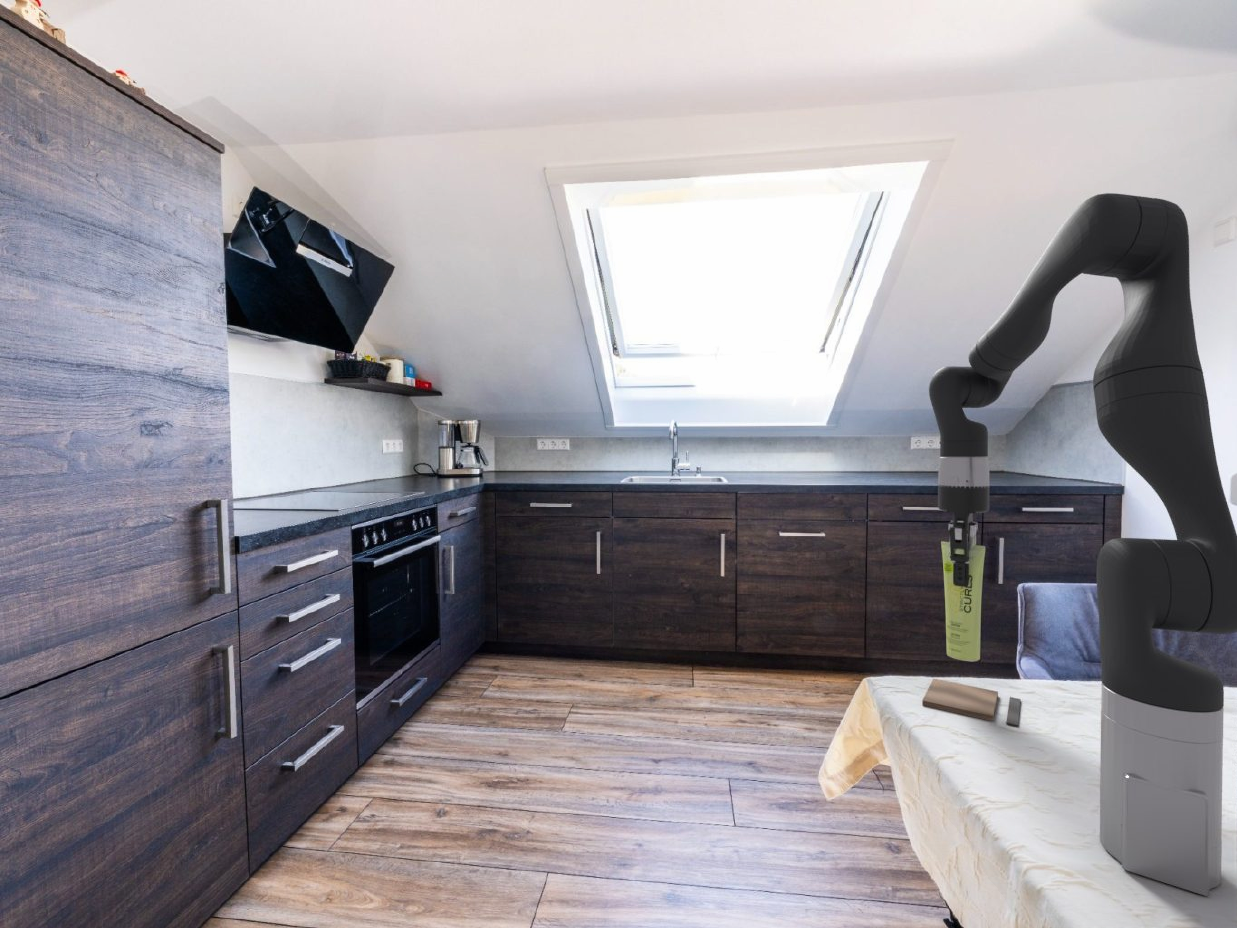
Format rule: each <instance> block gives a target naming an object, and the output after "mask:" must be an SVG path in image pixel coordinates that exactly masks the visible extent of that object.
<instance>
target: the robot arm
mask: <svg viewBox="0 0 1237 928" xmlns="http://www.w3.org/2000/svg"><path fill="white" fill-rule="evenodd" d="M1186 217H1187V216H1186V214H1185V213H1184V210H1183V209H1182V208H1181V207H1180V205H1179V204H1176V203H1174V202H1172V201H1170V200H1167V199H1164V198H1159V197H1158V198H1157V197H1147V196H1139V195H1132V194H1124V193H1123V194H1122V193H1111V192H1110V193H1109V192H1107V193H1099V194H1096V195H1093V196H1092V197H1091V196H1090V197H1089V198H1087V199H1086V200H1085V201H1083V202H1081V204H1080V205H1078V206H1077V207H1076V209H1074V210H1073V211H1072V213H1070V215H1069V216H1068V217H1067V219H1066V220H1064V222H1063V223H1062V225H1061V226H1060V228H1059V229H1058V230H1057V232H1056V233H1055V234H1054V236H1053V237H1052V239H1051V241H1050V242H1049V244H1048V245H1047V247H1046V249H1045V250H1044V251H1043V253H1042V254H1041V256H1040V257H1039V259H1038V260H1037V262H1036V263H1035V265H1034V266H1033V268H1032V269H1031V271H1030V273H1029V274H1028V276H1027V277H1026V279H1025V280H1024V281H1023V284H1022V285H1021V287H1020V288H1019V290H1018V291H1017V293H1016V294H1015V296H1014V298H1013V299H1012V301H1011V302H1010V303H1009V305H1008V306H1007V308H1006V309H1004V312H1002V314H1001V315H1000V316H999V318H998V319H996V321H995V322H994V323H993V324H992V325H991V326H989V328H988V329H987V330H986V332H985V333H983V335H982V336H981V337H980V338H979V339H978V340H977V341H976V342H975V343H974V344H973V346H972V347H971V349H970V350H969V353H968V362H969V365H970V366H957V365H955V366H952V365H951V366H949V365H948V366H944V367H941V368H939V369H938V370H936V371H935V373H934V374H933V376H932V377H931V379H930V381H929V385H928V386H929V387H928V394H929V400H930V404H931V406H932V411H933V413H934V417H935V419H936V425H937V427H938V432H939V436H940V437H939V438H940V439H939V442H940V443H939V455H940V457H939V465H938V471H937V472H938V473H937V474H938V475H937V476H938V477H937V482H938V484H937V487H938V488H937V507H938V509H939V510H940V511H942V512H948V513H949V512H950V513H952V514H953V516H952V517H953V518H952V520H950V521H949V522H948V532H949V541H948V542H949V547H950V552H951V555H950V558H951V561H952V563H953V584H954V585H955V586H963V587H967V586H968V585H969V562H970V551H972V550H973V548H974V545H977V532H978V522H977V521H973V514H974V513H975V514H981V513H982V514H983V513H988V512H989V511H990V466H989V432H988V431H989V430H988V428H987V426H986V425H985V424H984V423H982V422H978V421H974V420H971V419H969V418H967V416H966V414H965V411H964V409H980V408H981V409H982V408H984V407H988V406H989V405H991V404H993V403H995V402H996V401H997V400H998V399H999V398H1000V396H1001V395H1002V394H1003V391H1004V390H1005V388H1006V386H1007V384H1008V382H1009V381H1010V379H1011V377H1012V375H1013V373H1014V371H1015V370H1016V369H1018V368H1019V367H1020V366H1021V365H1022V364H1023V363H1024V362H1025V361H1026V360H1027V359H1029V358H1030V356H1032V355H1033V354H1034V353H1036V351H1038V349H1039V348H1040V346H1041V345H1042V344H1043V343H1044V341H1045V340H1046V338H1047V336H1048V334H1049V331H1050V327H1051V323H1052V322H1051V321H1052V315H1053V309H1054V308H1053V307H1054V303H1055V300H1056V297H1057V296H1058V294H1060V292H1061V291H1062V290H1063V289H1064V288H1065V287H1066V286H1067V285H1068V284H1069V283H1071V282H1072V281H1073V280H1074V279H1075V278H1078V276H1080V275H1081V274H1084V275H1090V276H1098V277H1099V276H1100V277H1107V278H1116V279H1117V280H1118V282H1119V283H1120V285H1121V290H1122V292H1123V293H1122V294H1123V302H1124V317H1123V319H1122V320H1123V321H1122V323H1121V325H1120V327H1119V329H1118V330H1117V332H1116V333H1115V335H1113V337H1112V339H1111V340H1110V342H1109V344H1108V345H1107V346H1106V348H1105V349H1104V351H1103V353H1102V355H1101V356H1100V357H1099V360H1098V362H1097V363H1096V366H1095V368H1094V372H1093V378H1092V380H1093V381H1092V384H1093V385H1092V386H1093V394H1094V405H1095V412H1096V413H1095V414H1096V420H1097V426H1098V429H1099V431H1100V433H1101V434H1102V436H1103V437H1104V438H1105V440H1106V442H1107V443H1108V444H1109V445H1110V447H1112V448H1113V450H1114V451H1115V452H1116V453H1117V455H1119V456H1120V457H1121V458H1122V459H1123V460H1124V461H1125V462H1126V463H1127V465H1129V466H1130V467H1131V468H1132V469H1134V471H1135V472H1136V473H1138V475H1139V476H1140V477H1141V478H1143V479H1144V481H1145V482H1146V483H1147V484H1148V485H1149V486H1150V487H1151V488H1152V489H1153V490H1154V492H1155V494H1156V495H1157V496H1158V497H1159V499H1160V501H1161V502H1162V503H1163V505H1164V507H1165V509H1166V511H1167V514H1168V516H1169V518H1170V521H1171V524H1172V526H1173V530H1174V532H1175V537H1176V539H1165V538H1164V539H1163V538H1140V537H1139V538H1134V537H1118V538H1111V539H1110V540H1107V541H1106V542H1104V544H1103V546H1102V547H1101V549H1100V551H1099V553H1098V557H1097V561H1096V594H1097V607H1098V625H1099V628H1098V629H1099V630H1098V631H1099V633H1098V634H1099V636H1098V637H1099V638H1098V639H1099V641H1098V642H1099V643H1098V644H1099V656H1100V666H1101V667H1100V668H1101V695H1100V697H1101V699H1100V700H1101V701H1100V703H1101V705H1100V706H1101V708H1100V709H1101V711H1100V768H1099V773H1100V775H1099V776H1100V778H1099V779H1100V781H1099V782H1100V783H1099V840H1100V843H1101V845H1102V846H1103V848H1104V849H1105V851H1107V853H1108V854H1110V855H1111V856H1112V857H1113V858H1115V860H1117V861H1118V862H1120V864H1121V868H1122V869H1123V870H1124V871H1127V872H1131V873H1133V874H1137V875H1140V876H1143V877H1146V878H1148V879H1153V880H1156V881H1158V882H1162V883H1165V884H1167V885H1171V886H1175V887H1177V888H1180V889H1183V890H1187V891H1190V892H1192V893H1197V894H1199V895H1202V896H1206V897H1208V896H1209V895H1210V890H1211V889H1215V888H1218V887H1219V885H1220V884H1221V882H1222V844H1223V843H1222V834H1223V833H1222V832H1223V831H1222V830H1223V829H1222V827H1223V823H1222V821H1223V760H1224V759H1223V755H1224V754H1223V752H1224V751H1223V749H1224V706H1225V705H1224V704H1225V703H1224V701H1225V696H1224V694H1225V693H1224V692H1225V691H1224V684H1223V681H1222V680H1221V679H1220V678H1219V676H1217V674H1215V673H1213V672H1212V671H1210V670H1209V669H1207V668H1205V667H1202V666H1201V665H1198V664H1196V663H1192V662H1190V661H1188V660H1185V659H1182V658H1179V657H1176V656H1174V655H1171V654H1169V653H1167V652H1165V651H1163V650H1161V649H1159V648H1158V647H1157V646H1155V645H1154V640H1153V636H1152V629H1156V630H1165V631H1166V630H1168V631H1178V632H1189V633H1190V632H1191V633H1202V634H1212V635H1213V634H1214V635H1231V634H1234V633H1237V530H1236V527H1235V525H1234V521H1233V518H1232V515H1231V510H1230V508H1229V505H1228V504H1229V503H1228V502H1227V497H1226V495H1225V491H1224V487H1223V483H1222V479H1221V475H1220V470H1219V466H1218V462H1217V461H1218V460H1217V455H1216V449H1215V445H1214V443H1215V442H1214V437H1213V430H1212V424H1211V414H1210V407H1209V406H1210V405H1209V399H1208V394H1207V387H1206V382H1205V377H1204V372H1203V369H1202V368H1203V367H1202V364H1201V360H1200V356H1199V355H1200V354H1199V351H1198V346H1197V344H1198V343H1197V338H1196V330H1195V323H1194V314H1193V309H1192V300H1191V289H1190V288H1191V284H1190V283H1191V282H1190V281H1191V280H1190V279H1191V278H1190V237H1189V235H1190V234H1189V225H1188V220H1187V218H1186ZM957 550H964V554H956V551H957Z"/></svg>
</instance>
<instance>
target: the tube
mask: <svg viewBox="0 0 1237 928" xmlns="http://www.w3.org/2000/svg"><path fill="white" fill-rule="evenodd" d="M940 545H941V552H942V553H941V554H942V555H941V556H942V564H943V565H942V566H943V583H944V586H943V587H944V602H945V604H944V606H945V633H946V634H945V635H946V636H945V638H946V643H945V644H946V656H948V657H950V658H952V659H954V660H958V661H964V662H971V663H972V662H977V661H980V660H981V628H982V627H981V626H982V625H981V624H982V623H981V622H982V620H981V619H982V595H983V594H982V592H983V578H984V577H983V575H984V564H985V556H986V555H985V554H986V546H985V545H978V544H976V545H974V548H973V550H972V551H970V562H969V585H968V586H967V587H963V586H955V585H954V584H953V563H952V561H951V558H950V555H951V552H950V547H949V541H941V542H940ZM956 554H964V550H957V551H956Z"/></svg>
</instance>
